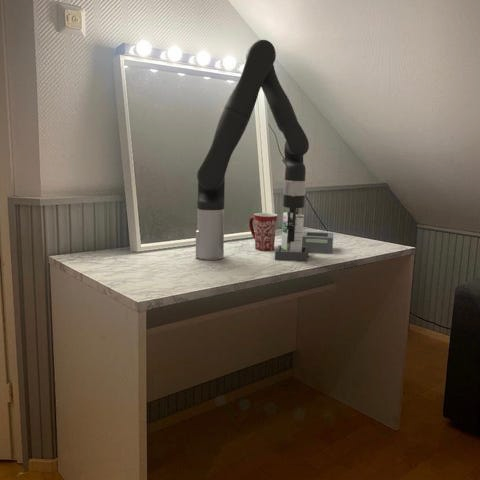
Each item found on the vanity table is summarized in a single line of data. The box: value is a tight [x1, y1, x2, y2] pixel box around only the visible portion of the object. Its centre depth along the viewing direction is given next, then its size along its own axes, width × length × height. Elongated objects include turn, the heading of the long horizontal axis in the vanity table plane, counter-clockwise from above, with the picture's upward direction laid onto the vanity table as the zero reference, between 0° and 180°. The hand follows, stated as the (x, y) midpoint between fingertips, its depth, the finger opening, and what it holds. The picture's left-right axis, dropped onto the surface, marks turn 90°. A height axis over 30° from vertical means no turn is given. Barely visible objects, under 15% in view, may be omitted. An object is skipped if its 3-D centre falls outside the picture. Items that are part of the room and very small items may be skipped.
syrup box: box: [281, 211, 305, 252], centre depth 175 cm, size 6×6×14 cm
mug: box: [248, 212, 279, 252], centre depth 190 cm, size 13×9×14 cm
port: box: [302, 230, 334, 255], centre depth 189 cm, size 12×12×6 cm
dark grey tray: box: [274, 245, 309, 263], centre depth 176 cm, size 11×11×3 cm
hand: (291, 239), depth 175 cm, fingers closed on syrup box, 8 cm apart
